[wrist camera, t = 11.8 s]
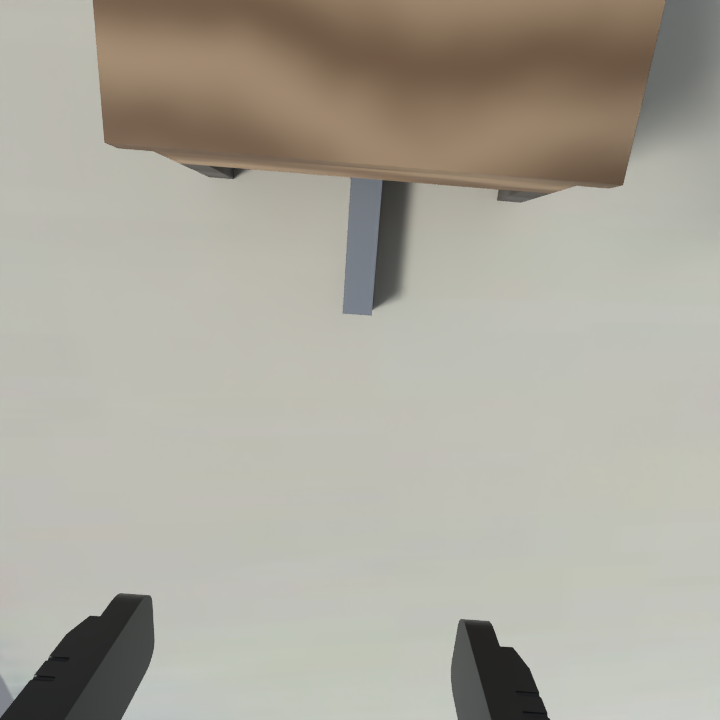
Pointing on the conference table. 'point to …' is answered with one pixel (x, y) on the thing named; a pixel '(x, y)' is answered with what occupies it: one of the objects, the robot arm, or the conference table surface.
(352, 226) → the scraper
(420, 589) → the conference table surface
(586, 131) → the cabinet
